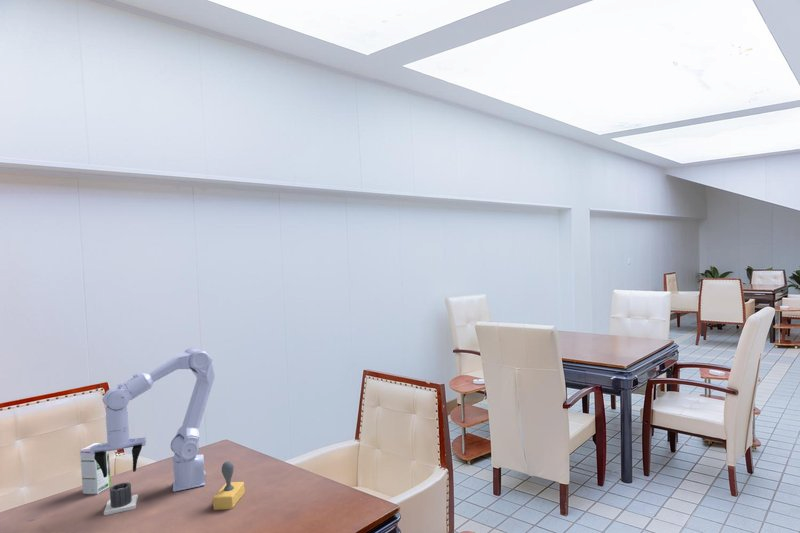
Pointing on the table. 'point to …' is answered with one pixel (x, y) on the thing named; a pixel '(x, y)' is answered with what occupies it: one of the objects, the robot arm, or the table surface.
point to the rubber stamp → (228, 490)
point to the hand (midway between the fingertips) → (120, 473)
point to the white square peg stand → (130, 506)
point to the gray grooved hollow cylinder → (120, 495)
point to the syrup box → (93, 472)
